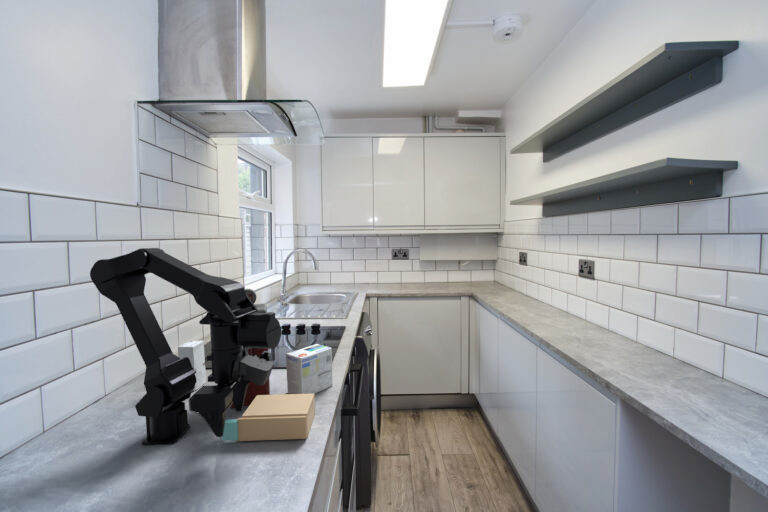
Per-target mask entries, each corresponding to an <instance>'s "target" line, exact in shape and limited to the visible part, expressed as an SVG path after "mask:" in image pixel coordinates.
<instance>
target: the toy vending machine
mask: <svg viewBox="0 0 768 512" xmlns="http://www.w3.org/2000/svg"><path fill="white" fill-rule="evenodd" d="M245 292H246V294H247V296H248V297H249V298H250V300H251V301H252V303H253V304H254V305H255V307H256V308H257V310H258V313H267V312H268V307H267V304H266V303H256V301H257V293H256V291H255V290H254V289H251V288H245ZM255 303H256V304H255ZM239 309H241V308H237V309H234V310H232V312H234V311H237V310H239ZM247 349H248V355H250V356H255V355H257V357H259V356H260V355H261V354H262V353H263V352H264V351H268V352H269V349H262V348H247ZM270 385H271V384H270V378H269V379H268V380H267V381H266V383H265V384H264V385H262V386H260V385H256V384H255V383H253V382H250V383H249V384H248V388H247V392H246V396H245V400H244V404H243V408H245V407H249V406H250V404H251V403H252V401H253V400H254V399H255V397H256V396H257V395H271V389H270V388H271V387H270ZM233 409H235V407H234V405H233V403H232V404H231V405H230V410H233Z"/></svg>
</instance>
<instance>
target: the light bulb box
mask: <svg viewBox="0 0 768 512" xmlns="http://www.w3.org/2000/svg"><path fill="white" fill-rule="evenodd" d="M332 351H333V350H332V347H330V346H327V345H322V344H319V343H315V344H312V345H309V346H306V347H304V348H303V347H302V348H301V349H296V350H293V351H291V352H287V353H286V354H285V361H286V383H287V393H288V394H314V393H315V394H317V393H319V392H322V391H323V390H326V389H329V388H331V387H333V353H332Z"/></svg>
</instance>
